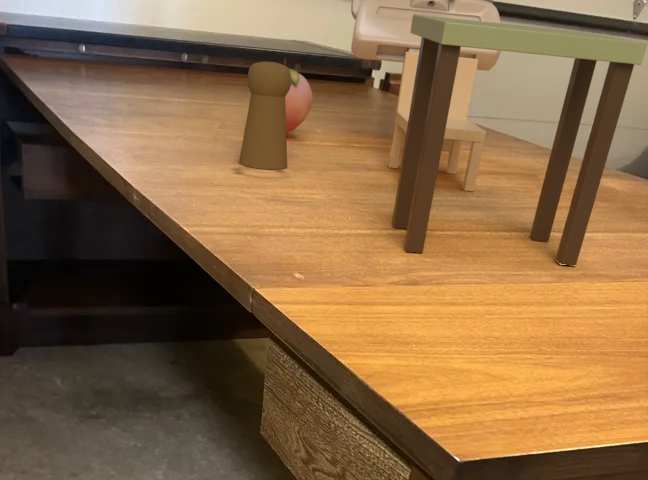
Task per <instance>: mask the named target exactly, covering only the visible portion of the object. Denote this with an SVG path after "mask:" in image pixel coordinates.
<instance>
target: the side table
mask: <svg viewBox="0 0 648 480" xmlns="http://www.w3.org/2000/svg"><path fill="white" fill-rule="evenodd" d="M410 33H412V34H415V35H418V36H420V37H422V39H421V45H420V51H419V57H418V64H417V70H416V76H415V82H414V88H413V95H412V101H411V107H410V113H409V119H408V125H407V132H406V138H405V144H404V148H403V150H402V156H401V157H402V158H401V163H400V164H401V165H400V169H399V175H398V182H397V189H396V194H395V201H394V207H393V213H392V219H391V225H392V227H393V228H394V229H402V230H406V233H405V237H404V238H405V239H404V245H403V248H404V250H405V252H406V253H412V252H416V253H415V254H422V253H423V252H424V247H425V244H426V243H425V242H426V236H427V233H428V232H427V231H428V227H429V221H430V216H431V215H430V214H431V210H432V204H433V199H434V193H435V187H436V183H437V178H438V172H439V167H440V161H441V156H442V152H443V151H442V146H443V140H444V135H445V129H446V124H447V119H448V113H449V108H450V102H451V97H452V92H453V86H454V81H455V75H456V70H457V65H458V59H459V54H460V48H461V46H462V47H471V48H481V49H491V50H500V51H501V52H512V53H520V54H530V55H531V54H532V55H540V56H549V57H558V58H559V57H560V58H570V59H574V61H573V65H572V68H571V72H570V77H569V80H568V85H567V88H566V92H565V97H564V99H563V104H562V108H561V111H560V116H559V120H558V123H557V127H556V131H555V134H554V135H555V136H554V140H553V143H552V147H551V151H550V155H549V159H548V163H547V166H546V171H545V175H544V179H543V183H542V187H541V190H540V194H539V199H538V203H537V205H536V206H537V207H536V210H535V214H534V218H533V222H532V226H531V228H530V229H531V230H530V233H529V238H531V239H532V240H533V241H534V240H535V241H536V242H545V241H548V242H550V237H551V233H552V229H553V225H554V222H555V218H556V214H557V210H558V207H559V203H560V200H561V195H562V192H563V189H564V185H565V181H566V178H567V173H568V170H569V166H570V162H571V159H572V155H573V151H574V148H575V144H576V140H577V136H578V133H579V128H580V125H581V121H582V118H583V114H584V110H585V106H586V102H587V99H588V95H589V91H590V87H591V84H592V80H593V76H594V72H595V69H596V66H597V62H609V63H608V67H607V70H606V75H605V78H604V81H603V84H602V85H603V86H602V89H601V92H600V96H599V100H598V104H597V108H596V110H595V114H594V117H593V121H592V125H591V129H590V132H589V136H588V140H587V143H586V146H585V151H584V154H583V158H582V161H581V164H580V168H579V172H578V176H577V179H576V183H575V187H574V190H573V194H572V198H571V201H570V205H569V208H568V211H567V215H566V220H565V223H564V226H563V229H562V233H561V238H560V241H559V244H558V248H557V252H556V255H555V260H557V261H558V262H559V263H561V264H566V265H576V266H577V263H578V260H579V256H580V253H581V249H582V246H583V242H584V240H585V235H586V231H587V228H588V225H589V221H590V218H591V216H592V215H591V214H592V212H593V208H594V204H595V200H596V199H597V194H598V190H599V187H600V184H601V180H602V176H603V174H604V170H605V168H606V167H605V166H606V163H607V160H608V156H609V152H610V150H611V146H612V143H613V140H614V136H615V133H616V129H617V126H618V122H619V118H620V115H621V112H622V108H623V105H624V101H625V98H626V94H627V91H628V88H629V84H630V81H631V77H632V73H633V70H634V67H635V65H636V66H637V65H638V66H641V65H642V64H643V60H644V57H645V54H646V50H647V46H648V43H647V42H643V41H637V40H632V39H626V38H620V37H613V36H609V35H602V34H597V33H591V32H585V31H578V30H567V29H557V28H548V27H539V26H530V25H521V24H520V25H519V24H511V23H503V22H500V23H493V22H483V21H474V20H464V19H455V18H445V17H436V16H426V15H417V14H413V18H412V25H411V31H410ZM535 241H534V242H535ZM555 260H554V261H555Z"/></svg>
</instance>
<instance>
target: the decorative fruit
mask: <svg viewBox="0 0 648 480" xmlns="http://www.w3.org/2000/svg"><path fill="white" fill-rule="evenodd" d="M283 65H284V66H286V67H287V58H283ZM287 68H289V67H287ZM289 71H290V73H291V79H292V80H291V87H290V90H289V92H288V93H287V95H286V96H285V105H286V135H287V134H290V133H291V132H293V131H294V130H296V129H297V128H298V127H299V126H300V125H301V124H302V123H303V122H304V121H305V119H306V118H307V117H308V115H309V114H310V112H311V109H312V106H313V101H314V94H313V91H312V87H311V85H310V84H309V82H308V80H307V79H306V77H305V76H303V75H302V74H301V73H299V72H298V70H296V69H293V68H289Z"/></svg>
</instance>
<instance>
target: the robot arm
mask: <svg viewBox="0 0 648 480" xmlns="http://www.w3.org/2000/svg"><path fill="white" fill-rule="evenodd" d="M493 2H494V0H351V7H350V11H351V15H352V18H353V19H354V20H355V22H354V26H353V32H352V36H351V37H352V39H351V44H350V50H351V53H352V54H353V55H354V56H355V58H357V59H364V60H374V61H383V62H384V61H385V62H395V63H404V56H405V52H413V53H419V51H420V45H421V39H422V37H420V36H418V35H415V34H412V33H410V31H411V25H412V18H413V14H417V15H426V16H436V17H445V18H455V19H464V20H474V21H483V22H493V23H501V17H500V13H499V11H498V8H497V6H495V5H494V4H493ZM501 52H502V51H500V50H491V49H481V48H471V47H462V46H461V48H460V54H459V57H462V58H472V59H478V64H477V70H476V71H484V72H485V71H486V72H489V71H490V70H492V68H494V66H495V65H496V64H497V62H498V60H499V58H500V55H501Z"/></svg>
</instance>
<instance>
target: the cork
mask: <svg viewBox="0 0 648 480" xmlns="http://www.w3.org/2000/svg"><path fill="white" fill-rule="evenodd" d="M289 69H290V68H289V67H288V68H287V65H286V66H284V64H282V63H278V62H275V61H257V62H254V63H253V64H251V65H250V67H249V69H248V73H247V87H248V89H249V91H250V97H249V103H248V109H247V114H246V115H247V116H246V119H245V121H246V122H245V126H244V133H243V138H242V143H241V149H240V154H239V159H238V163H239V164H240V165H242V166H245V167H248V168H253V169H260V170H262V169H263V170H284V169H287V168H288V148H287V147H288V144H287V143H288V142H287V134H286V105H285V96H286V95H287V93H288V92H289V90H290V87H291V80H292V79H291V73H290V71H289Z"/></svg>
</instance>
